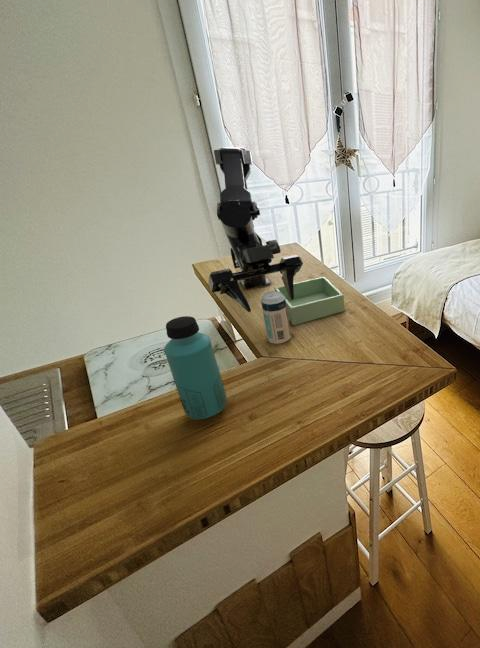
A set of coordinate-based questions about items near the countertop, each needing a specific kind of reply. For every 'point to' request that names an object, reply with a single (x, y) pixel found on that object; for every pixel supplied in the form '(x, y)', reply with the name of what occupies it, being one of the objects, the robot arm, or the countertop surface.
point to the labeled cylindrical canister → (276, 317)
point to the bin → (312, 300)
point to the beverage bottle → (194, 369)
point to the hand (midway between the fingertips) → (272, 305)
